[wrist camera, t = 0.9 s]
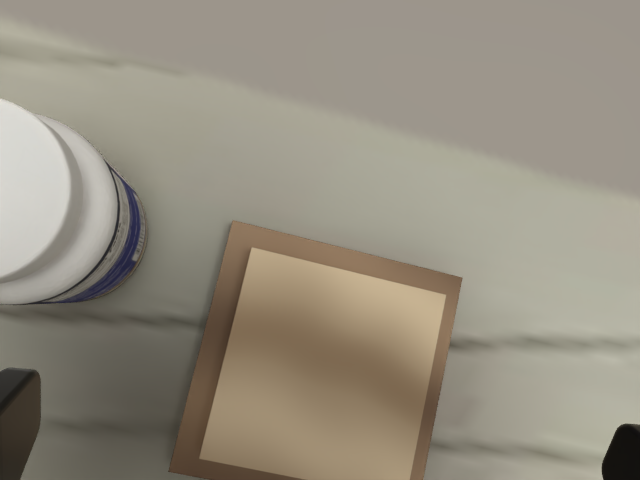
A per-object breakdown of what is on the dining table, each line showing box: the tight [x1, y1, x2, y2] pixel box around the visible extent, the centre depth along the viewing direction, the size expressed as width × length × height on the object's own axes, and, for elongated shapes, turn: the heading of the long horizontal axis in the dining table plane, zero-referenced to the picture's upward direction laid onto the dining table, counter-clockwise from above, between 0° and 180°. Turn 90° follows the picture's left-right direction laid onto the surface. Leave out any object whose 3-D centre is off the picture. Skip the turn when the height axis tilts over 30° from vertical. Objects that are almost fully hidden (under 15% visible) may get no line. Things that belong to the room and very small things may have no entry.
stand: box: [168, 220, 462, 480], centre depth 23 cm, size 10×10×2 cm
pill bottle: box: [0, 98, 148, 305], centre depth 18 cm, size 6×6×10 cm
